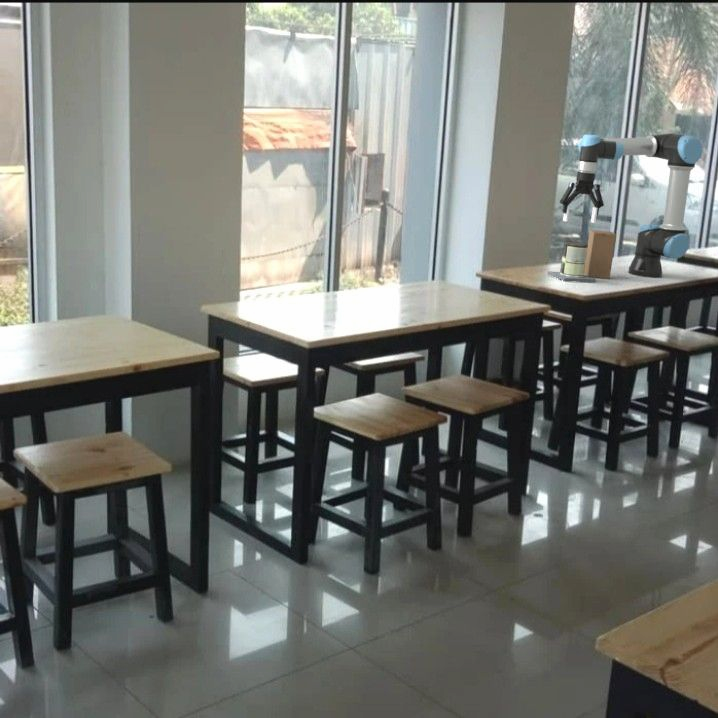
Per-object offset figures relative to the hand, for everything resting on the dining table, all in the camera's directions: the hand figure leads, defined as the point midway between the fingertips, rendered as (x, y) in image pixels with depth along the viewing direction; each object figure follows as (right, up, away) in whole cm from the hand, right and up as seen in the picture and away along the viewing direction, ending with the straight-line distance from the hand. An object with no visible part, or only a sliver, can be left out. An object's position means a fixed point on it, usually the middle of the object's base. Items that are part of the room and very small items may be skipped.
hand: (579, 222), depth 446 cm
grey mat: (-2, -24, +6) cm, 25 cm away
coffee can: (-2, -23, +6) cm, 23 cm away
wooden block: (+12, -22, +19) cm, 31 cm away
